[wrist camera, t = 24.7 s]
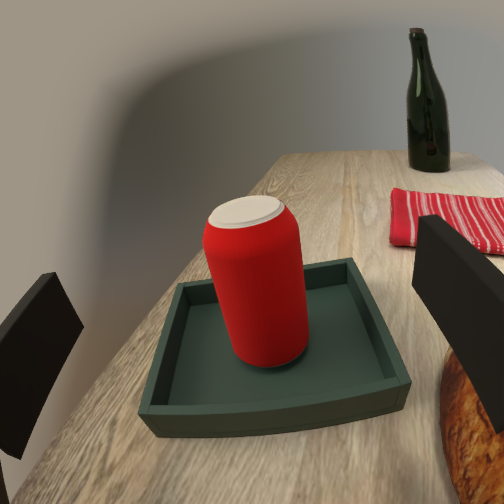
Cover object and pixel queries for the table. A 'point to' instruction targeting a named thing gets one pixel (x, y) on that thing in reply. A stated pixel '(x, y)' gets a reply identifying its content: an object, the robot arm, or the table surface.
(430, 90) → the wine bottle
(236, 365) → the drinks tray
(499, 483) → the bread
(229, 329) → the beverage can
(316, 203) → the table surface
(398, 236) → the dish towel
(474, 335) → the robot arm
